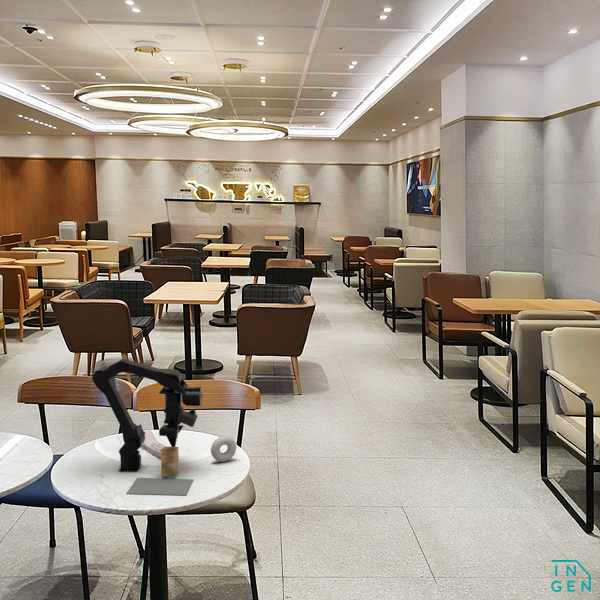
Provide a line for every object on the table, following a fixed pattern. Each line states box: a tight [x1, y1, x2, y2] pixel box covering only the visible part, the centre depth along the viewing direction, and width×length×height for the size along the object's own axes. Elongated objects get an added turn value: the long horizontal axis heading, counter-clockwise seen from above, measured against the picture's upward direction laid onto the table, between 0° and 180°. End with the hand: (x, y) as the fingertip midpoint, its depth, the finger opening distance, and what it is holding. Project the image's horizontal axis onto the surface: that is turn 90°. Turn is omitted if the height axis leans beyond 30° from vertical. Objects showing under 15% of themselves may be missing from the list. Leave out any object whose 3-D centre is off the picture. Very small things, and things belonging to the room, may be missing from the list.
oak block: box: [160, 446, 180, 479], centre depth 236 cm, size 5×5×10 cm
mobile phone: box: [143, 429, 179, 460], centre depth 259 cm, size 6×6×25 cm
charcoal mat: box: [126, 477, 194, 497], centre depth 228 cm, size 20×13×1 cm, turn 88°
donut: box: [210, 435, 237, 463], centre depth 251 cm, size 10×3×10 cm, turn 117°
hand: (173, 446), depth 242 cm, fingers closed
